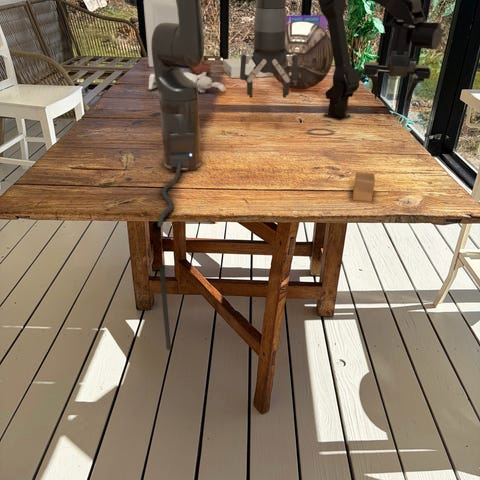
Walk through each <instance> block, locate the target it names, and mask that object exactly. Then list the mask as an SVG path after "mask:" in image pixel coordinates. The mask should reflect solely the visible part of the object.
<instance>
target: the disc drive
mask: <svg viewBox="0 0 480 480" xmlns="http://www.w3.org/2000/svg"><path fill="white" fill-rule="evenodd" d="M222 61H223V62H222V66H223V67H222V70H223V71H224V72H225V73H226V74H227V75H228V76H229V78H231V79H237V78H238V79H240V67H241V58H225V59H223V60H222ZM254 67H255V63H254V62H253V61H252V59H251V60H249V63H248V64H246V67H245V74H246V75H249V74H250V72H251V71H252V69H253V68H254ZM263 77H275V76H274V75H273V73H270V72H268V73H262V72H259V73H258V74H257V76H255V78H263Z"/></svg>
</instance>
